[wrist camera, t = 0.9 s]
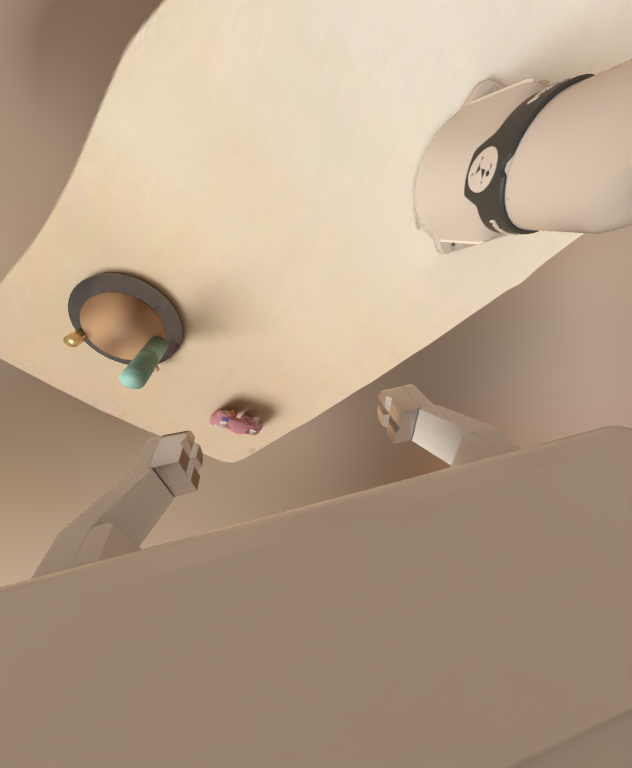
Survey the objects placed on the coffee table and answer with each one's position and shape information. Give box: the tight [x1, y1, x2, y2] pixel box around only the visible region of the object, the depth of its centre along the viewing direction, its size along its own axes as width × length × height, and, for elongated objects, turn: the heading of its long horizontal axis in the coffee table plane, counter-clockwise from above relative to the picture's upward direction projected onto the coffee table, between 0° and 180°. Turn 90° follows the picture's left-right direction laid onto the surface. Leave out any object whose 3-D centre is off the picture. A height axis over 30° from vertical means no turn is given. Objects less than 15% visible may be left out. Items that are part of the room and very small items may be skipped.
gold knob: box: [64, 328, 88, 347], centre depth 34 cm, size 2×2×3 cm
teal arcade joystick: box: [80, 292, 168, 389], centre depth 31 cm, size 11×11×11 cm
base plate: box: [68, 273, 183, 365], centre depth 36 cm, size 14×14×2 cm
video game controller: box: [210, 410, 263, 435], centre depth 49 cm, size 10×5×7 cm, turn 57°
